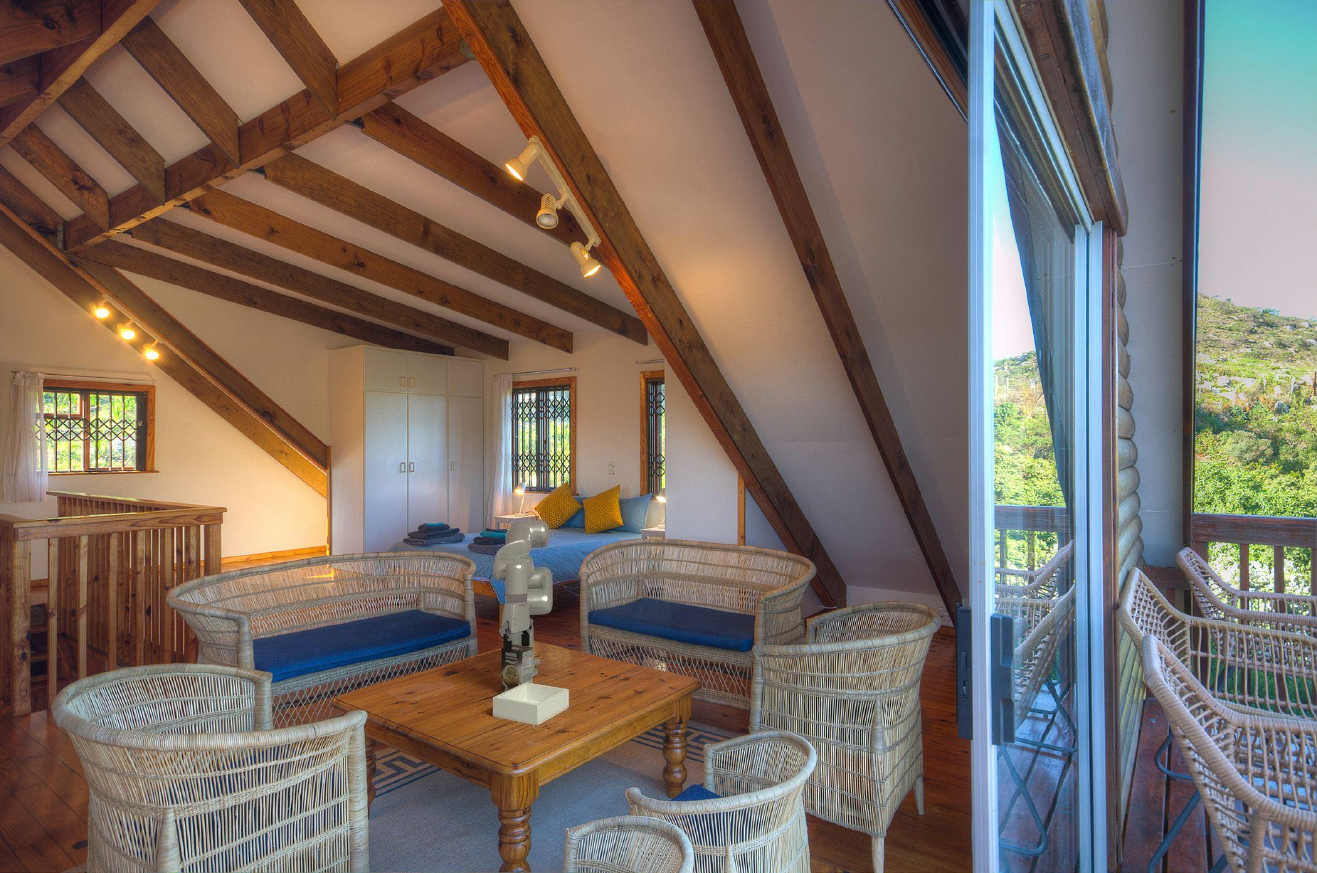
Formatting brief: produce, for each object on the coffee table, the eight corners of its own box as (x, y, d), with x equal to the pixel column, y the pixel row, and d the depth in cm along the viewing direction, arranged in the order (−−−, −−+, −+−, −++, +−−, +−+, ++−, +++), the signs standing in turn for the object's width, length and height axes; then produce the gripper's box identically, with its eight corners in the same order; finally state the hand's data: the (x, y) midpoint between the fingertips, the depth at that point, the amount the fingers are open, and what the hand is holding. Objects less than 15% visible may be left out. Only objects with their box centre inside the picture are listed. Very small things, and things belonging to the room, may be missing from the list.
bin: (526, 700, 246) (526, 682, 246) (568, 707, 238) (568, 689, 238) (492, 716, 231) (492, 697, 231) (537, 725, 223) (537, 705, 223)
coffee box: (500, 695, 251) (500, 647, 251) (512, 690, 257) (512, 643, 257) (521, 699, 247) (521, 650, 247) (533, 693, 252) (533, 646, 253)
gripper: (523, 593, 262) (523, 642, 261) (491, 601, 246) (491, 653, 245) (540, 595, 258) (540, 644, 258) (509, 603, 243) (509, 656, 242)
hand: (516, 649), depth 251 cm, fingers open, 9 cm apart
